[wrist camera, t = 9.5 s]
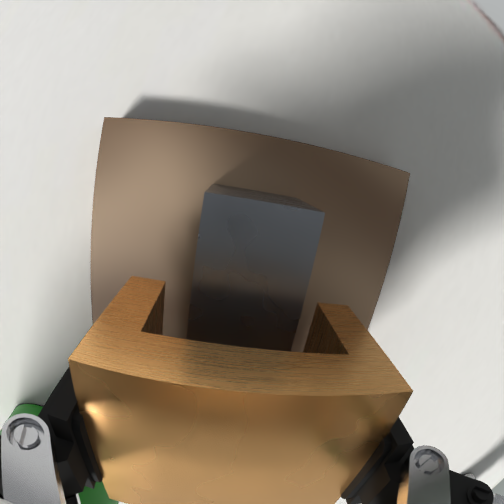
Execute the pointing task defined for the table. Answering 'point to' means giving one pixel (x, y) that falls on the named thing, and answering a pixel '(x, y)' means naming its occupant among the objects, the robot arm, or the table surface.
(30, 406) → the motor
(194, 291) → the rail
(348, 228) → the rail base
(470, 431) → the table surface
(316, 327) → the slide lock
